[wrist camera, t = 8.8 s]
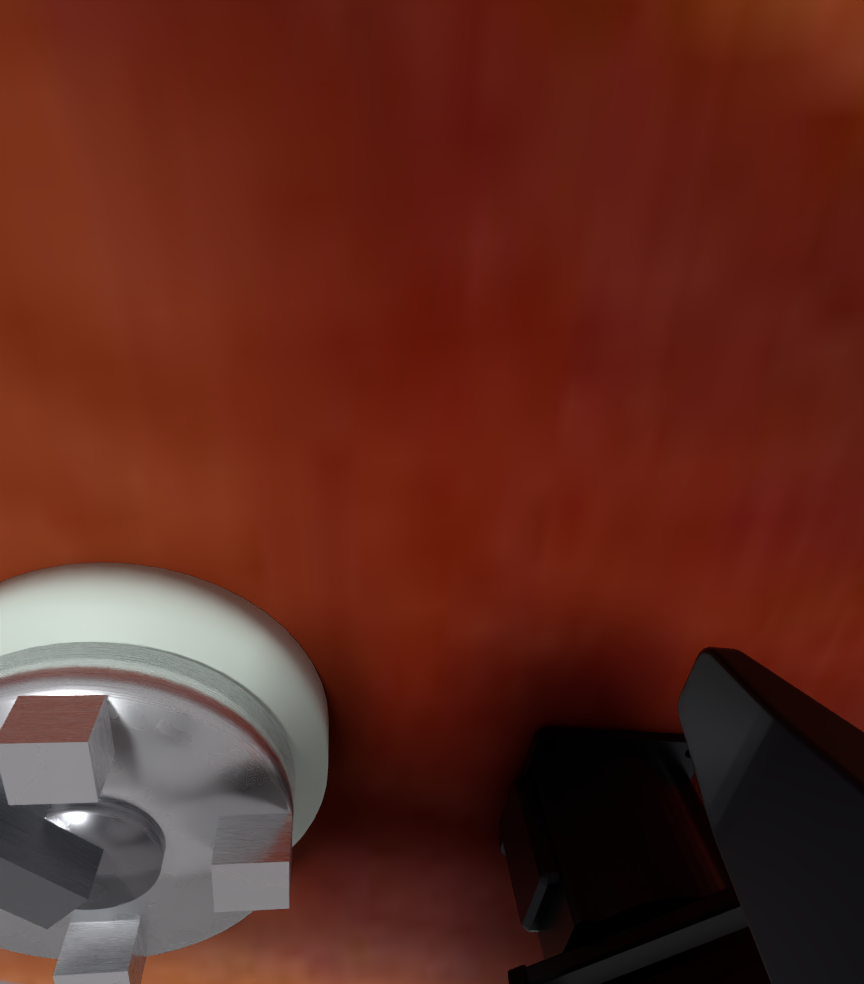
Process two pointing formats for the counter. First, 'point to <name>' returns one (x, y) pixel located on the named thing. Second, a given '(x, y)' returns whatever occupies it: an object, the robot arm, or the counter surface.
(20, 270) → the counter surface
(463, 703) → the counter surface
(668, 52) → the counter surface
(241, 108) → the counter surface
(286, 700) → the nut base
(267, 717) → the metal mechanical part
